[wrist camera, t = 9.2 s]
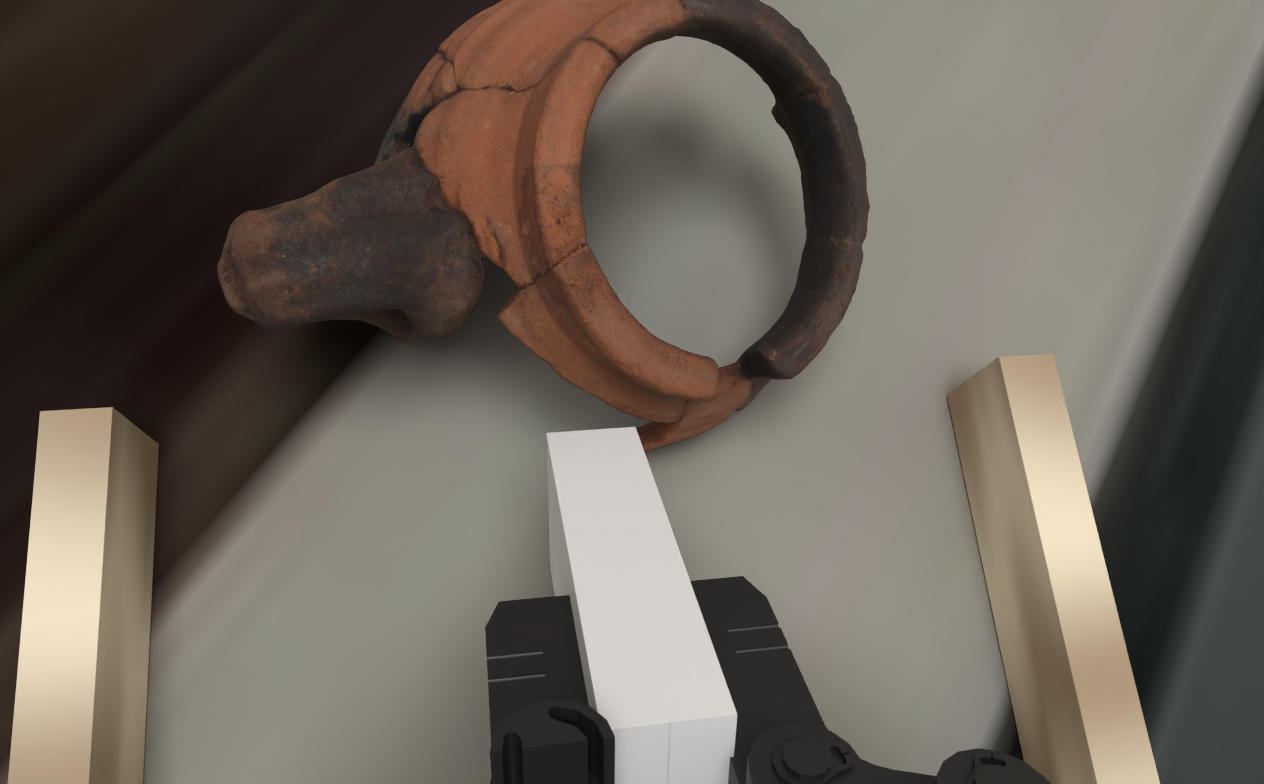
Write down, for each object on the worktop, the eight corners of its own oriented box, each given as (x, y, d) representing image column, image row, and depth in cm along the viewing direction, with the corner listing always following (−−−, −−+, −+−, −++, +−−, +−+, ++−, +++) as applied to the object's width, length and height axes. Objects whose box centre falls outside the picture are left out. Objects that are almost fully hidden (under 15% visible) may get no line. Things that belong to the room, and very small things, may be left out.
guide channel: (1156, 1102, 18) (1253, 1158, 16) (37, 1307, 15) (-47, 1413, 13) (995, 392, 23) (1053, 353, 20) (95, 448, 20) (40, 411, 17)
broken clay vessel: (606, 23, 25) (833, -117, 18) (711, 368, 27) (953, 361, 20) (114, 128, 19) (170, -19, 12) (292, 561, 21) (429, 649, 14)
